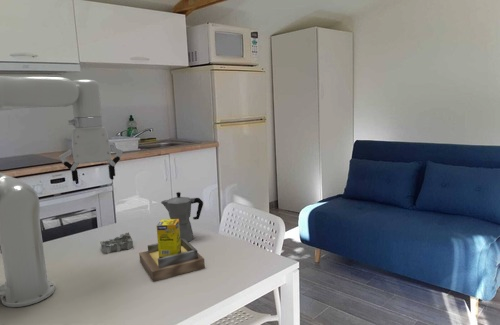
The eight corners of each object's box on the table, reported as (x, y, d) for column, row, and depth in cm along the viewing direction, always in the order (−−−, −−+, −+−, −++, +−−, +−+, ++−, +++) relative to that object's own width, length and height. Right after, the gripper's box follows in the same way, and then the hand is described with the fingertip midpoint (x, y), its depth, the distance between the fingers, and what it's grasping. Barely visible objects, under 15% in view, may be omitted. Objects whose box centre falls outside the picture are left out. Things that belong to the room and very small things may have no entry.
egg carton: (131, 242, 139) (130, 231, 138) (134, 249, 132) (133, 238, 132) (100, 247, 134) (99, 236, 134) (102, 255, 128) (101, 243, 127)
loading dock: (153, 281, 107) (151, 263, 106) (140, 261, 121) (138, 245, 120) (204, 267, 115) (203, 251, 114) (186, 250, 129) (185, 235, 128)
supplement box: (178, 258, 114) (175, 224, 113) (158, 259, 114) (156, 225, 113) (181, 251, 120) (179, 218, 118) (163, 251, 120) (160, 219, 118)
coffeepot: (161, 244, 135) (157, 196, 132) (166, 235, 144) (162, 189, 141) (204, 242, 135) (201, 194, 132) (206, 233, 145) (203, 188, 141)
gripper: (55, 125, 101) (63, 187, 104) (121, 122, 109) (127, 179, 112) (54, 124, 107) (61, 182, 110) (117, 121, 115) (122, 175, 118)
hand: (94, 180), depth 111 cm, fingers open, 9 cm apart
